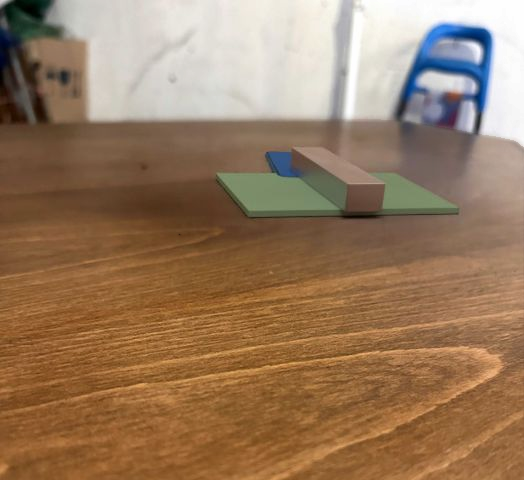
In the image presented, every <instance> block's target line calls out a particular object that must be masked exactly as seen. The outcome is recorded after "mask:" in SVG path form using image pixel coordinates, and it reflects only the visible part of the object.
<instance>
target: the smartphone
mask: <svg viewBox="0 0 524 480" xmlns="http://www.w3.org/2000/svg"><path fill="white" fill-rule="evenodd" d="M291 152H292V151H274V150H273V151H272V150H271V151H270V150H269V151H265V154H264V156H265V159H266V161H267V164H268V166H269V168H270V170H271V173H276V174H277V175H278V176H281V177H291V178H299V177H298V176H297V175H295V174H294V173H293V172H291V171H290V166H291Z"/></svg>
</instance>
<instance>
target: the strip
mask: <svg viewBox="0 0 524 480" xmlns="http://www.w3.org/2000/svg"><path fill="white" fill-rule="evenodd" d="M290 152H291V166H290V171H291V172H293V173H294V174H295V175H297V176H298V177H299V178H300V179H302V180H303V181H304V182H306V183H307V184H308V185H310V186H311V187H312V188H314V189H315V190H316V191H318V192H319V193H320V194H322V195H323V196H324V197H326V198H327V199H328V200H330V201H331V202H332V203H334V204H335V205H336V206H338V207H339V208H340V209H342V210H343V211H344V212H381V211H382V206H383V199H384V192H385V185H386V183H384V182H382V181H381V180H379V179H377V178H375V177H374V176H372V175H370V174H368V173H369V172H367V171H365V170H363V169H361V168H360V167H358V166H356V165H355V164H353V163H351V162H349V161H348V160H346V159H344V158H342V157H341V156H338V155H337V154H335V153H333V152H332V151H330V150H328V149H327V148H325V147H323V146H292V147H291V151H290Z"/></svg>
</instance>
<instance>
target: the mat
mask: <svg viewBox="0 0 524 480" xmlns="http://www.w3.org/2000/svg"><path fill="white" fill-rule="evenodd" d="M367 173H368V174H370V175H372V176H374V177H375V178H377V179H379V180H381V181H382V182H384V183H386V185H385V192H384V199H383V206H382V211H381V212H344V211H343V210H342V209H340V208H339V207H338V206H336V205H335V204H334V203H332V202H331V201H330V200H328V199H327V198H326V197H324V196H323V195H322V194H320V193H319V192H318V191H316V190H315V189H314V188H312V187H311V186H310V185H308V184H307V183H306V182H304V181H303V180H302V179H300V178H291V177H281V176H278V175H277V174H276V173H273V172H215V180H216V181H217V182H218V183H219V184H220V186H221V187H222V188H223V189H224V190H225V191H226V193H227V194H228V195H229V197H231V198H232V200H233V201H234V202H235V203H236V204H237V206H238V207H239V208H240V209H241V211H243V213H244V214H245V215H246V217H248V218H284V217H285V218H287V217H289V218H291V217H294V218H295V217H341V216H346V217H347V216H348V217H349V216H351V217H352V216H397V215H398V216H401V215H403V216H404V215H458V214H459V212H460V207H459V206H457V205H456V204H454V203H452V202H451V201H449V200H446V199H444V198H442V197H441V196H439V195H437V194H435V193H433V192H432V191H429V190H428V189H426V188H423V187H421V186H420V185H418V184H417V183H414V182H412V181H411V180H409V179H407V178H405V177H403V176H402V175H400V174H398V173H396V172H367Z"/></svg>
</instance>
